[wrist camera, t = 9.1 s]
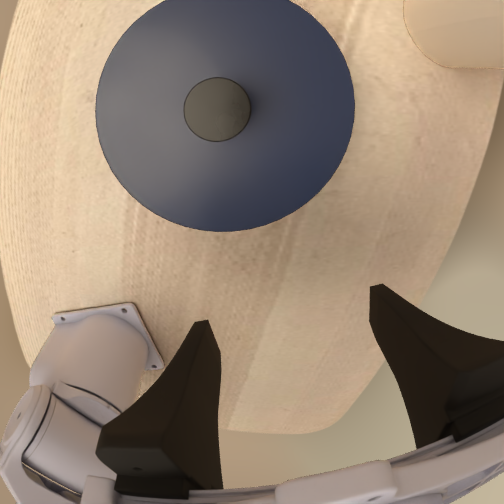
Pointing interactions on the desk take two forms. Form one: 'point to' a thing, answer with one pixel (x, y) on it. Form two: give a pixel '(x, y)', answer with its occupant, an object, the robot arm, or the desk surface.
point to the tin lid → (225, 111)
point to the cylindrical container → (458, 31)
